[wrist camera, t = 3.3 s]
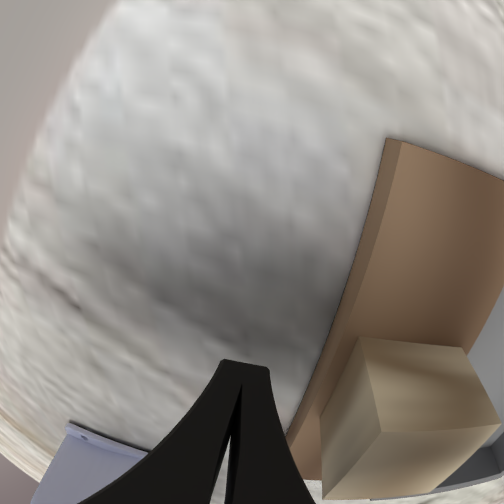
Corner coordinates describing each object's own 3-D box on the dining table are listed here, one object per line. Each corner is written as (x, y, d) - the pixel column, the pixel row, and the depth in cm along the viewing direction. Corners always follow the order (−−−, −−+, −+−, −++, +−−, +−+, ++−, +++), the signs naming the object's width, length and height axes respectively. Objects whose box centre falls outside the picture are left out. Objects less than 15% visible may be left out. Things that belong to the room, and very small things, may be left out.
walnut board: (276, 456, 14) (274, 476, 13) (386, 138, 8) (402, 141, 7) (365, 461, 14) (367, 480, 13) (512, 186, 8) (535, 196, 6)
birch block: (319, 417, 10) (322, 499, 7) (358, 335, 9) (381, 431, 6) (411, 421, 10) (429, 492, 7) (461, 347, 9) (502, 423, 5)
